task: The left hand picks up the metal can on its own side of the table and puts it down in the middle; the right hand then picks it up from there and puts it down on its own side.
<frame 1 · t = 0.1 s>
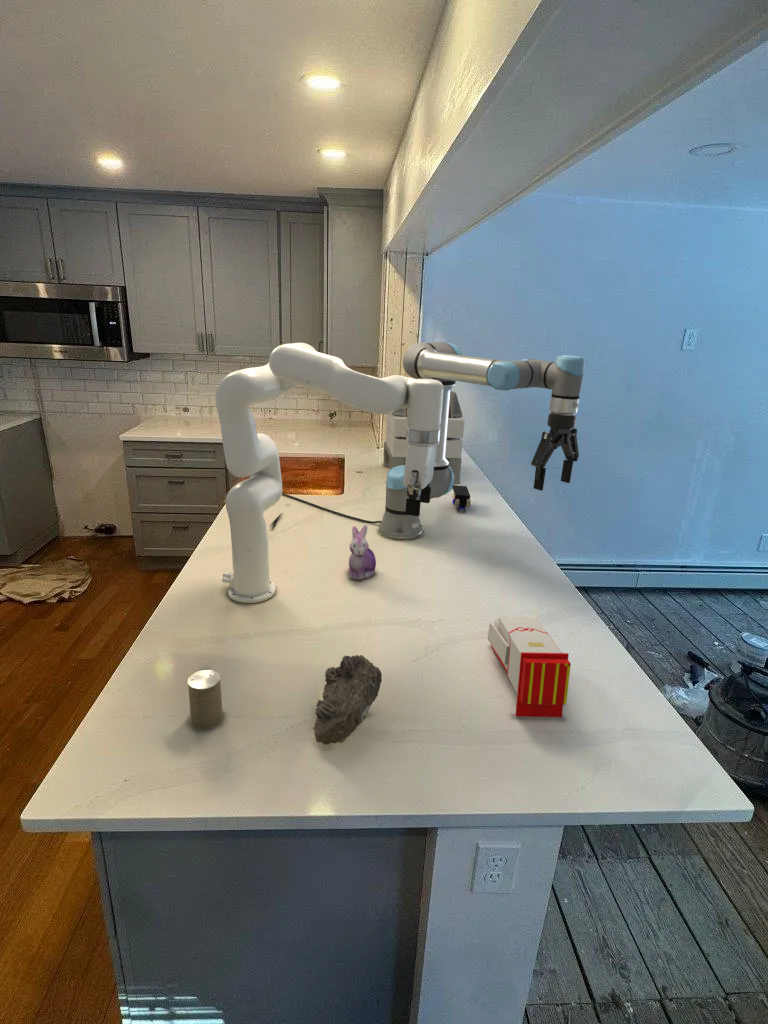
left hand: (418, 508, 132), 31 cm above the counter, tool pointing down, fingers open, 9 cm apart
right hand: (551, 485, 166), 28 cm above the counter, tool pointing down, fingers open, 13 cm apart
feather: (279, 517, 211), on the counter
toy: (520, 675, 125), on the counter
fossil: (347, 710, 111), on the counter
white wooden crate: (419, 473, 275), on the counter
figurine: (361, 573, 169), on the counter
can: (207, 718, 108), on the counter
figurine character: (460, 507, 229), on the counter
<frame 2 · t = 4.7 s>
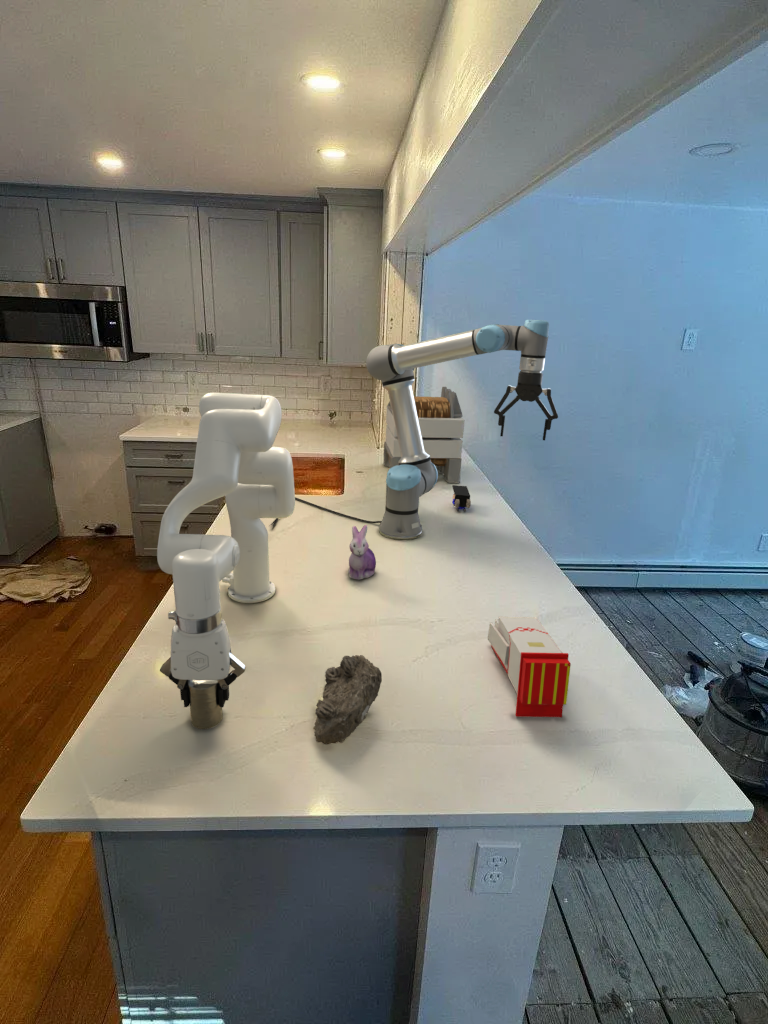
left hand: (205, 701, 106), 4 cm above the counter, tool pointing down, fingers closed on can, 5 cm apart
right hand: (522, 437, 186), 37 cm above the counter, tool pointing down, fingers open, 13 cm apart
can: (207, 718, 108), on the counter, touching left hand
everything else where it was.
when the left hand's fingers open (5 cm above the counter, at t = 11.9 s): can drops 1 cm, on the counter.
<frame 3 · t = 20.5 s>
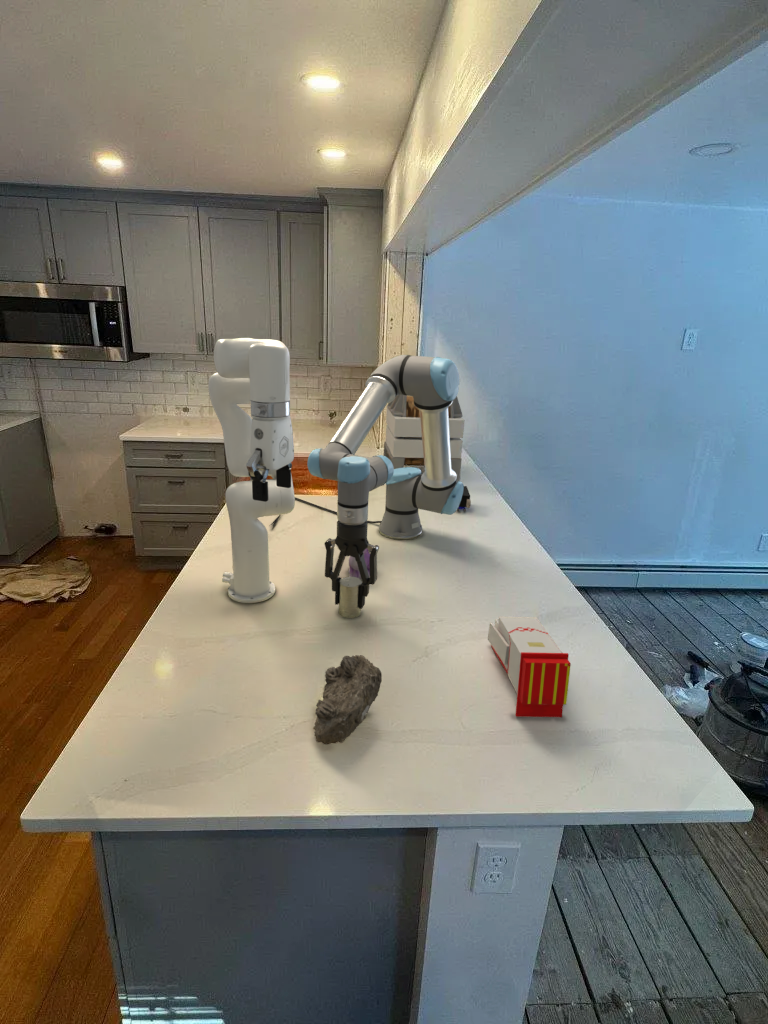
left hand: (272, 493, 116), 38 cm above the counter, tool pointing down, fingers open, 9 cm apart
right hand: (349, 604, 146), 3 cm above the counter, tool pointing down, fingers closed on can, 6 cm apart
can: (349, 612, 147), on the counter, touching right hand
everything else where it was.
when the right hand's fingers open (4 cm above the counter, at t = 30.8 s): can drops 1 cm, on the counter.
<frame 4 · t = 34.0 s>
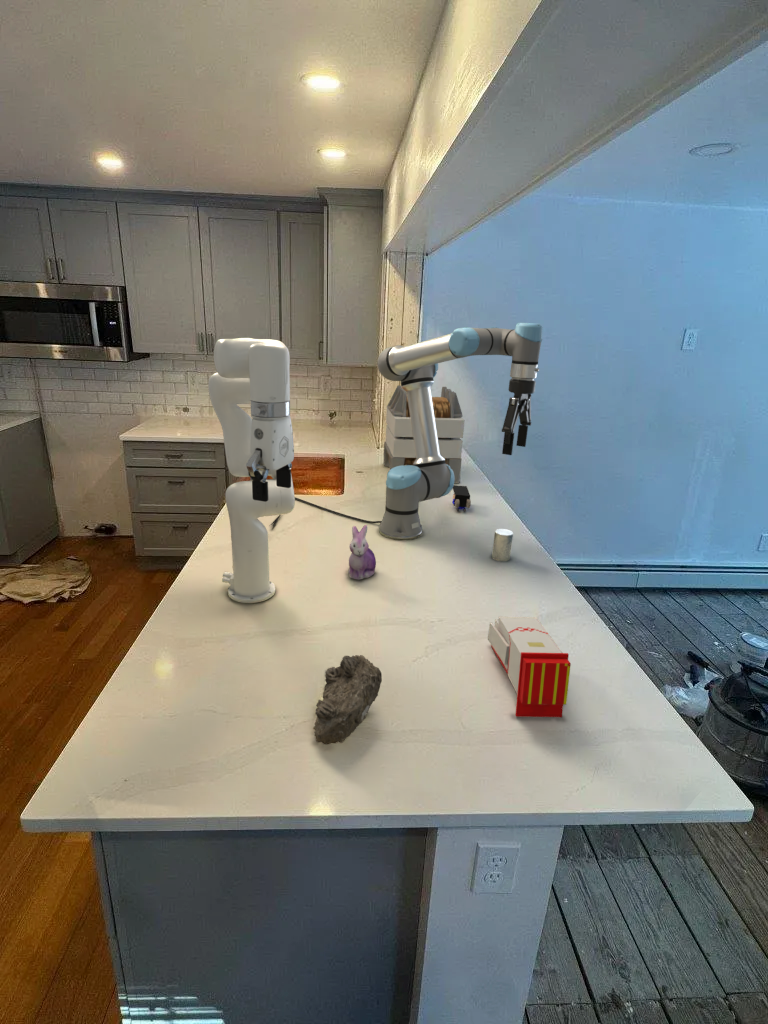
left hand: (272, 493, 116), 38 cm above the counter, tool pointing down, fingers open, 9 cm apart
right hand: (514, 450, 172), 36 cm above the counter, tool pointing down, fingers open, 13 cm apart
can: (500, 557, 184), on the counter
everything else where it was.
at the end: can inside the target area (0.0 cm from its centre), on the counter; can tilted 0°; the two hands never held the can at the same time; the left hand is holding nothing; the right hand is holding nothing; can at rest at the end (0.0 cm/s) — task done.
